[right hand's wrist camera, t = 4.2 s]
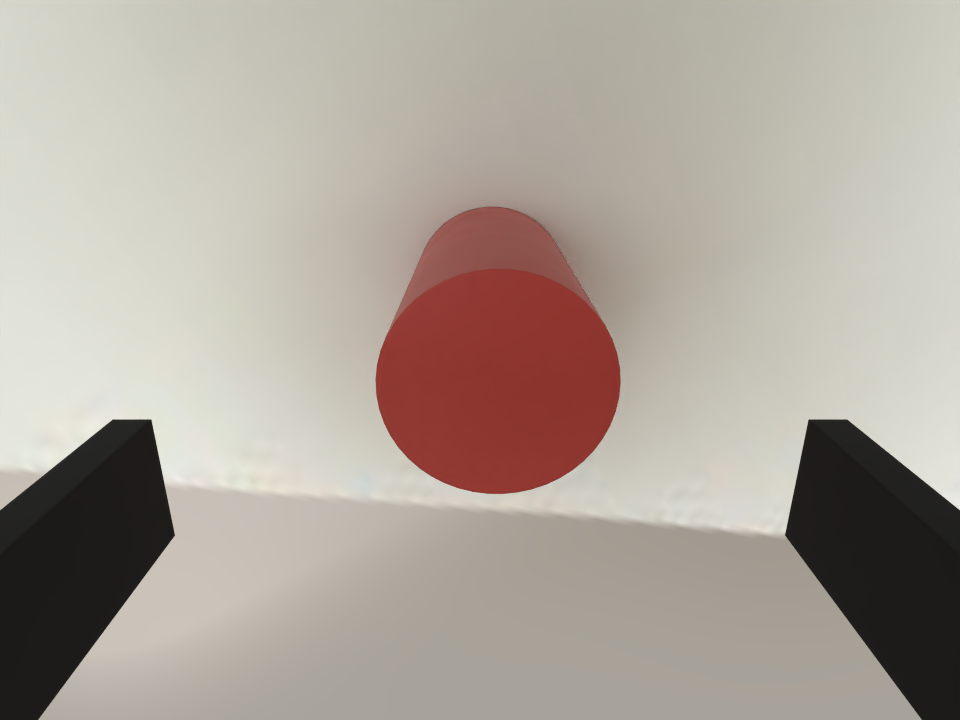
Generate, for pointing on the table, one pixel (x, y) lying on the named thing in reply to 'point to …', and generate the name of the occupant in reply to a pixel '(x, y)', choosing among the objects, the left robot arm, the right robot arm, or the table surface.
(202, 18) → the table surface
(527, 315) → the canister
